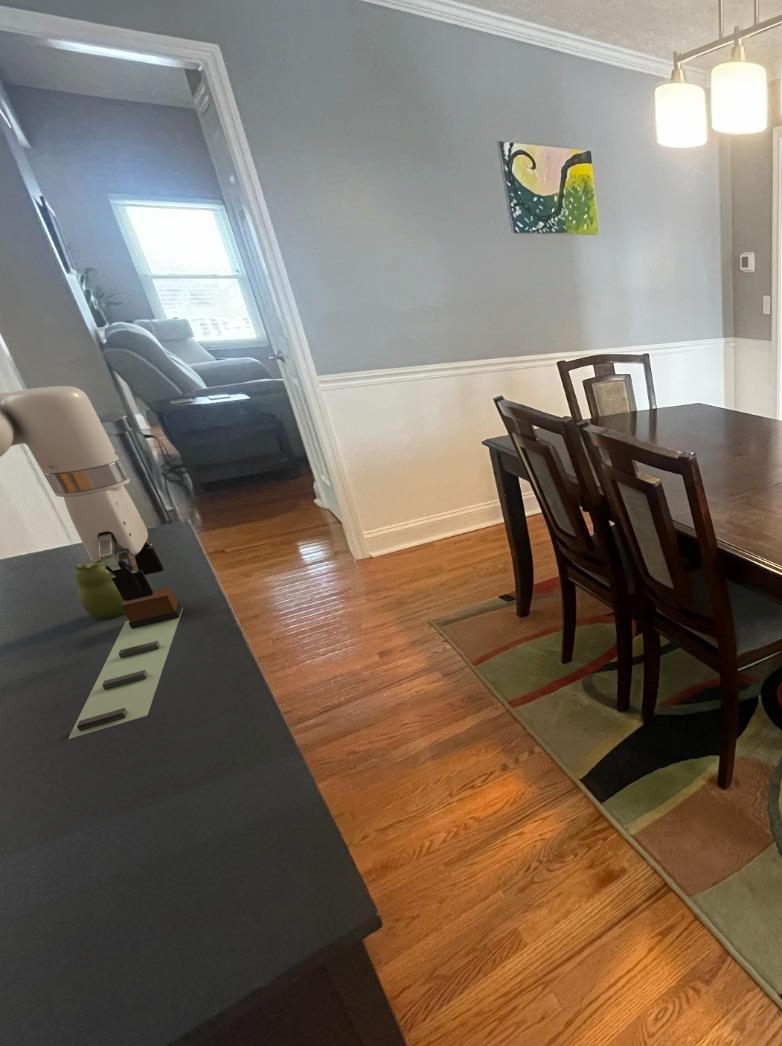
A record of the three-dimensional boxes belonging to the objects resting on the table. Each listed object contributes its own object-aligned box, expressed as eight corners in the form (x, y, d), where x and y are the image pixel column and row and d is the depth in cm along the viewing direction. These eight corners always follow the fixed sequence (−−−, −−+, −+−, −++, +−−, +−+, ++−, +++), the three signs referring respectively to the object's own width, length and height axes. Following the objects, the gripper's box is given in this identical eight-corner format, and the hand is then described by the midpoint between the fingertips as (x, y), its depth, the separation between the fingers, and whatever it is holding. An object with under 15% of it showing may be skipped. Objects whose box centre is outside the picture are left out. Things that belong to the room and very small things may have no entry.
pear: (86, 629, 92) (54, 572, 88) (101, 614, 96) (70, 558, 92) (134, 620, 94) (104, 563, 90) (146, 605, 98) (118, 551, 94)
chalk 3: (79, 731, 69) (76, 726, 69) (82, 725, 70) (78, 720, 70) (126, 717, 71) (123, 712, 71) (128, 712, 72) (125, 707, 72)
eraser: (131, 629, 90) (119, 606, 88) (136, 619, 93) (124, 596, 91) (179, 617, 93) (168, 595, 91) (182, 608, 95) (171, 586, 94)
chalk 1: (120, 658, 83) (118, 653, 82) (122, 654, 84) (119, 650, 83) (159, 648, 85) (156, 644, 84) (160, 645, 86) (158, 640, 85)
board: (71, 745, 69) (67, 738, 68) (128, 626, 92) (125, 621, 92) (150, 721, 72) (147, 715, 72) (185, 613, 96) (182, 607, 96)
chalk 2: (104, 690, 76) (101, 685, 76) (106, 685, 77) (103, 680, 77) (146, 678, 78) (143, 674, 78) (148, 674, 79) (145, 669, 79)
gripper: (68, 468, 88) (124, 571, 95) (30, 501, 75) (98, 616, 82) (136, 459, 92) (185, 558, 99) (111, 488, 79) (169, 599, 86)
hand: (145, 584), depth 91 cm, fingers open, 9 cm apart
